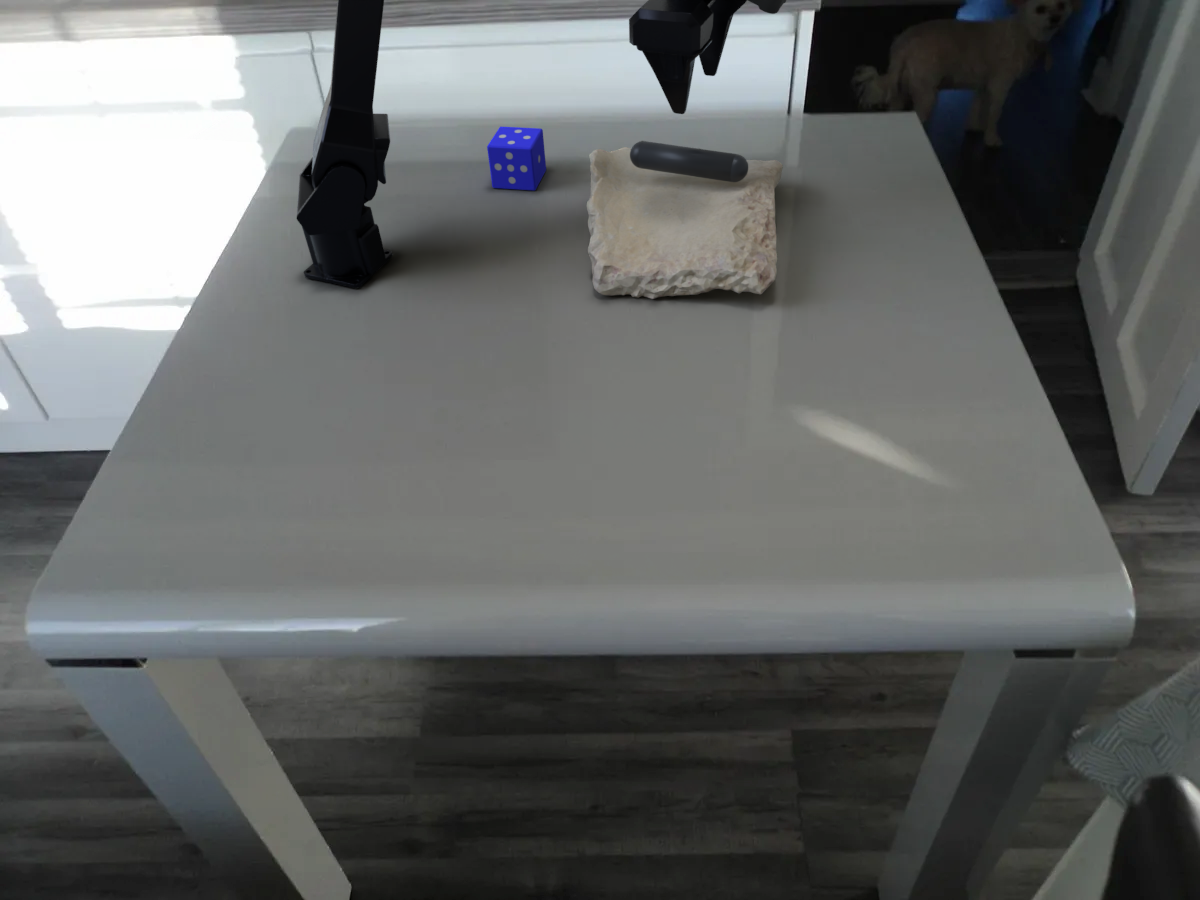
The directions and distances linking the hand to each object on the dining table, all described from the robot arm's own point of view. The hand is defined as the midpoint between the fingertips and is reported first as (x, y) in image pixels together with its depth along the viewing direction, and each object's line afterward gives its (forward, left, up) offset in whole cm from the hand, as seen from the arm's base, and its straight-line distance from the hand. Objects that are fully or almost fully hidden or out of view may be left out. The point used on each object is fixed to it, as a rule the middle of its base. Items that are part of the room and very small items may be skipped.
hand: (695, 93), depth 86 cm
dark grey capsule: (0, -1, -6) cm, 6 cm away
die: (-21, +2, -13) cm, 25 cm away
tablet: (0, -4, -13) cm, 14 cm away
